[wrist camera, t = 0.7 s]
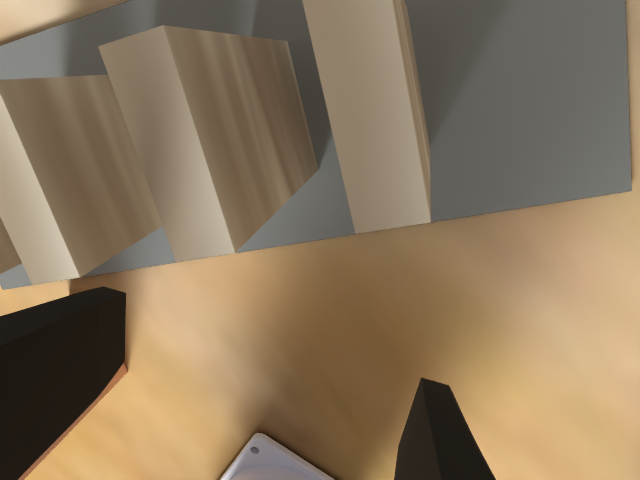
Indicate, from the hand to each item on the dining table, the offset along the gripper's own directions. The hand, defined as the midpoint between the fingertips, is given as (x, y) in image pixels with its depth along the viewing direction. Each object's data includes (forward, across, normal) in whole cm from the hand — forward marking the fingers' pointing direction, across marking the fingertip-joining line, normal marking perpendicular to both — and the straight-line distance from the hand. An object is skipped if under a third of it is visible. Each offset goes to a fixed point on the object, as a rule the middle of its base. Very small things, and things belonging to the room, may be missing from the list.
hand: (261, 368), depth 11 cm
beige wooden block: (+10, -1, -6) cm, 12 cm away
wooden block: (+10, +7, -2) cm, 12 cm away
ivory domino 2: (+10, +3, -4) cm, 11 cm away
